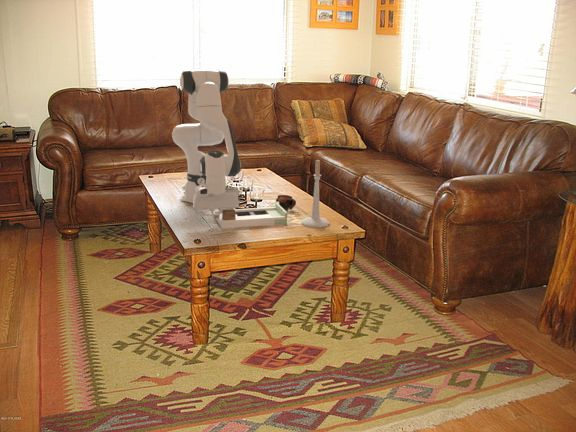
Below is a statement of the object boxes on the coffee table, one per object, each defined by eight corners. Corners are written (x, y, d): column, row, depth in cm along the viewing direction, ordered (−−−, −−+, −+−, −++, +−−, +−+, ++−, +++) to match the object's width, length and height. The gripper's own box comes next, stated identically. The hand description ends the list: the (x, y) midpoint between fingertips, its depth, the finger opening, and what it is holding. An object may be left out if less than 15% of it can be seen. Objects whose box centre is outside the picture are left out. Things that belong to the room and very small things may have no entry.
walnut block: (222, 218, 280) (222, 208, 278) (233, 217, 281) (233, 208, 280) (224, 221, 275) (224, 211, 274) (235, 220, 277) (235, 211, 275)
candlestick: (308, 229, 276) (311, 163, 267) (296, 220, 287) (298, 157, 278) (334, 226, 281) (337, 161, 272) (321, 218, 292) (324, 155, 283)
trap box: (215, 218, 288) (215, 206, 286) (277, 213, 297) (277, 202, 295) (222, 228, 273) (222, 216, 272) (286, 224, 282) (287, 212, 281)
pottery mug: (270, 210, 303) (272, 194, 305) (282, 215, 310) (283, 199, 312) (290, 209, 296) (291, 192, 298) (301, 214, 303) (303, 197, 305)
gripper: (237, 185, 278) (237, 214, 282) (191, 187, 272) (192, 217, 276) (240, 188, 272) (240, 218, 276) (194, 191, 266) (194, 221, 270)
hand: (216, 218), depth 276 cm, fingers closed
